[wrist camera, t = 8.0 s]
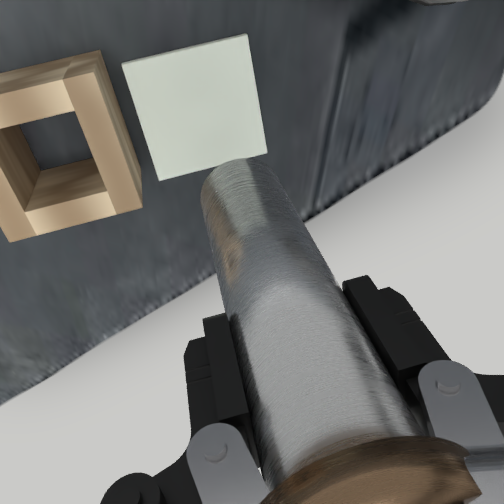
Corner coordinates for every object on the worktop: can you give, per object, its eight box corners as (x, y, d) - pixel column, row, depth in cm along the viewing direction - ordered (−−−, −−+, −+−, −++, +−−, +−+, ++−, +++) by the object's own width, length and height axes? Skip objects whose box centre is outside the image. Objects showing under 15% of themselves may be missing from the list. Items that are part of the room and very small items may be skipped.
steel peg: (286, 132, 20) (531, 458, 7) (299, 228, 22) (493, 582, 10) (173, 160, 19) (229, 548, 7) (201, 253, 22) (276, 650, 10)
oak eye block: (99, 49, 29) (93, 72, 24) (140, 168, 33) (142, 207, 28) (-33, 80, 28) (-67, 110, 23) (27, 197, 33) (9, 242, 28)
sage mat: (245, 33, 30) (247, 34, 29) (265, 149, 34) (267, 152, 34) (121, 62, 29) (121, 65, 29) (158, 177, 34) (159, 180, 33)
